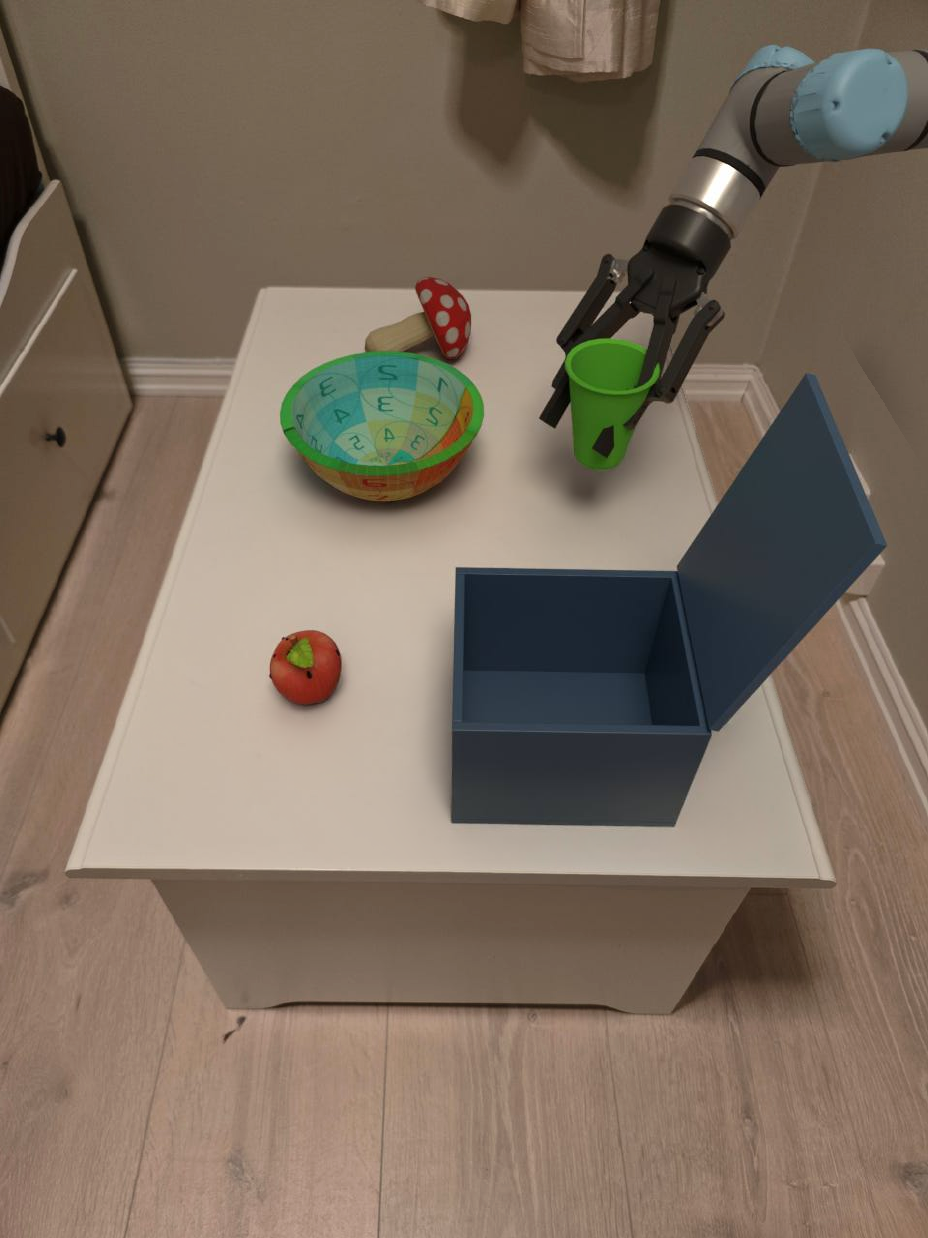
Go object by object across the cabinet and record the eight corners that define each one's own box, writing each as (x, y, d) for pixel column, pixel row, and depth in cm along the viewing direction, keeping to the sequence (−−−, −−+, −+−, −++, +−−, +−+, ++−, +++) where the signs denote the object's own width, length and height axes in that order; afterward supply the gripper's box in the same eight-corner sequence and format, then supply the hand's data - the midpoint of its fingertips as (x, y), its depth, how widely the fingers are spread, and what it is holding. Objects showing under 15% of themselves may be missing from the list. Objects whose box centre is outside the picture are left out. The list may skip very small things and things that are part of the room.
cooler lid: (876, 542, 50) (888, 545, 50) (805, 372, 61) (816, 375, 61) (708, 730, 65) (718, 732, 65) (676, 566, 76) (684, 567, 76)
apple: (260, 689, 85) (241, 620, 77) (318, 652, 88) (306, 583, 80) (306, 740, 81) (292, 674, 74) (366, 700, 84) (358, 632, 77)
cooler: (451, 823, 76) (451, 730, 65) (454, 668, 87) (455, 566, 76) (674, 827, 76) (712, 734, 65) (650, 672, 87) (679, 570, 76)
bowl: (456, 408, 114) (457, 338, 106) (503, 525, 100) (508, 455, 92) (281, 432, 110) (269, 362, 103) (304, 558, 96) (292, 487, 89)
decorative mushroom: (343, 311, 113) (451, 259, 111) (351, 313, 123) (450, 266, 122) (381, 394, 116) (487, 345, 114) (386, 389, 126) (483, 344, 125)
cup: (542, 438, 95) (550, 347, 87) (619, 422, 97) (635, 331, 89) (575, 491, 89) (588, 399, 81) (657, 473, 91) (677, 381, 83)
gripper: (794, 275, 84) (661, 490, 88) (631, 209, 92) (517, 408, 97) (781, 239, 77) (637, 473, 82) (606, 172, 86) (485, 387, 90)
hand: (573, 437), depth 89 cm, fingers closed on cup, 6 cm apart
